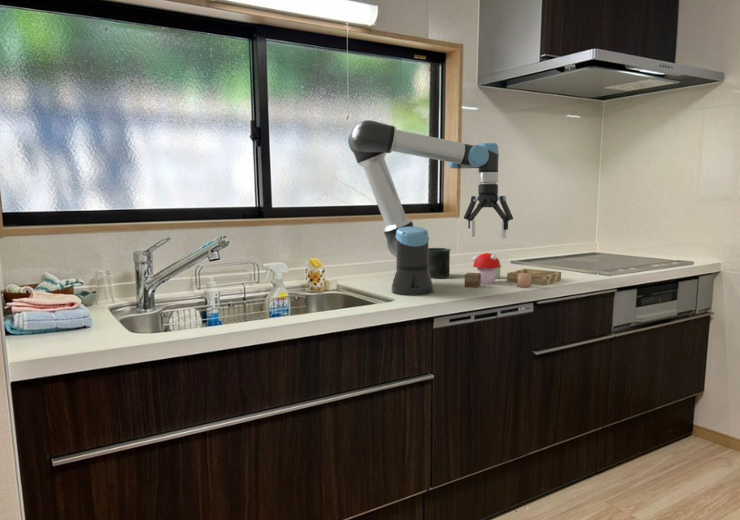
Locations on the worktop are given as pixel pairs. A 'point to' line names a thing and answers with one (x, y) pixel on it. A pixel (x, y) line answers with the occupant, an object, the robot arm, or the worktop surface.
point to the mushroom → (486, 267)
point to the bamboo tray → (536, 276)
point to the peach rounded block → (524, 280)
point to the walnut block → (473, 280)
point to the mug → (438, 262)
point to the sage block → (497, 273)
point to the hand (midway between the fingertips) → (487, 237)
